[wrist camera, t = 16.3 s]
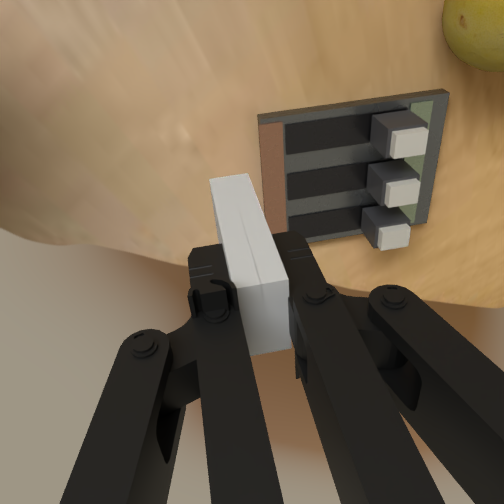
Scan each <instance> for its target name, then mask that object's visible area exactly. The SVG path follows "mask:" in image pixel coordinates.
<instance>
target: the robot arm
mask: <svg viewBox="0 0 504 504" xmlns="http://www.w3.org/2000/svg"><path fill="white" fill-rule="evenodd" d="M209 181H210V188H211V195H212V201H213V208H214V215H215V221H216V228H217V235H218V240H219V244H215V245H209V246H203V247H197V248H193V249H192V251H191V253H190V255H189V257H188V266H189V275H190V285H191V288H190V289H189V291H188V301H189V306H190V310H191V318H190V319H189V320H188V321H187V323H186V324H184V325H183V326H182V327H180V328H179V329H177V330H175V331H173V332H171V333H168V334H165V333H163V332H161V331H160V330H155V329H147V330H141V331H138V332H136V333H134V334H132V335H130V336H129V337H128V338H127V339H126V340H124V342H123V343H122V345H121V346H120V348H119V351H118V354H117V357H116V359H115V361H114V364H113V366H112V369H111V371H110V374H109V377H108V379H107V382H106V384H105V387H104V390H103V392H102V395H101V398H100V400H99V403H98V405H97V408H96V410H95V413H94V416H93V418H92V421H91V423H90V426H89V428H88V431H87V434H86V437H85V439H84V441H83V444H82V447H81V449H80V452H79V454H78V457H77V460H76V462H75V465H74V467H73V470H72V473H71V475H70V478H69V480H68V483H67V486H66V488H65V491H64V493H63V496H62V499H61V501H60V504H167V499H168V494H169V489H170V484H171V479H172V474H173V469H174V464H175V459H176V455H177V450H178V444H179V439H180V435H181V430H182V425H183V420H184V416H185V411H186V405H187V404H188V403H191V402H193V401H194V400H196V399H198V398H201V407H202V416H203V426H204V436H205V446H206V455H207V465H208V475H209V483H210V494H211V504H284V502H283V497H282V493H281V489H280V485H279V480H278V476H277V471H276V467H275V463H274V458H273V454H272V450H271V445H270V441H269V437H268V432H267V428H266V423H265V419H264V415H263V410H262V406H261V401H260V397H259V393H258V388H257V384H256V380H255V376H254V372H253V367H252V362H251V358H250V356H253V355H258V354H263V353H269V352H274V351H279V350H285V349H289V348H291V339H292V342H293V345H294V348H295V368H296V379H298V378H301V381H302V384H303V387H304V390H305V393H306V396H307V399H308V402H309V406H310V409H311V412H312V415H313V418H314V421H315V424H316V427H317V430H318V434H319V437H320V440H321V443H322V446H323V449H324V452H325V455H326V458H327V461H328V464H329V468H330V471H331V474H332V477H333V480H334V483H335V486H336V489H337V492H338V495H339V498H340V502H341V504H445V502H444V500H443V498H442V496H441V494H440V492H439V490H438V488H437V486H436V484H435V482H434V480H433V478H432V476H431V474H430V473H429V471H428V468H427V467H426V464H425V462H424V460H423V458H422V456H421V455H420V453H419V451H418V449H417V447H416V445H415V443H414V441H413V439H412V437H411V435H410V433H409V431H408V429H407V427H406V425H405V423H404V421H403V419H402V417H401V415H400V413H401V414H402V415H403V417H404V418H405V419H406V420H407V422H408V423H409V424H410V425H411V426H412V428H413V429H414V430H415V431H416V433H417V434H418V435H419V436H420V437H421V439H422V440H423V441H424V442H425V443H426V444H427V446H428V447H429V448H430V449H431V451H432V452H433V453H434V454H435V456H436V457H437V458H438V459H439V460H440V462H441V463H442V464H443V465H444V467H445V468H446V469H447V470H448V471H449V473H450V474H451V475H452V476H453V478H454V479H455V480H456V481H457V482H458V484H459V485H460V486H461V487H462V488H463V490H464V491H465V492H466V493H467V494H468V496H469V497H470V498H471V499H472V501H473V502H474V503H475V504H504V372H503V371H502V370H501V369H500V368H499V367H498V366H496V365H495V364H494V363H493V362H492V361H491V360H490V359H489V358H487V357H486V356H485V355H484V354H483V353H482V352H481V351H479V350H478V349H477V348H476V347H475V346H474V345H473V344H471V343H470V342H469V341H468V340H467V339H466V338H465V337H463V336H462V335H461V334H460V333H459V332H458V331H456V330H455V329H454V328H453V327H452V326H450V324H448V323H447V322H446V321H445V320H444V319H443V318H442V317H441V316H439V315H438V314H437V313H436V312H435V311H434V310H433V309H431V308H430V307H429V306H428V305H427V304H426V303H425V302H423V301H422V300H421V299H420V298H419V297H418V296H417V295H415V294H414V293H413V292H412V291H410V290H408V289H407V288H405V287H401V286H398V285H383V286H378V287H377V288H375V289H373V290H372V291H371V293H370V295H369V298H367V297H366V298H365V297H352V296H346V295H343V294H340V293H339V292H338V291H337V290H336V288H335V287H334V286H332V285H330V284H328V283H327V282H326V280H325V278H324V276H323V274H322V272H321V270H320V268H319V266H318V264H317V262H316V260H315V258H314V256H313V254H312V251H311V249H309V245H308V243H307V241H306V239H305V237H303V236H302V235H301V234H299V233H298V232H296V231H295V230H293V231H287V232H281V233H275V234H271V232H270V230H269V227H268V224H267V222H266V219H265V217H264V214H263V211H262V209H261V206H260V204H259V201H258V198H257V196H256V193H255V191H254V188H253V185H252V183H251V180H250V178H249V175H248V173H245V174H239V175H232V176H226V177H219V178H212V179H209ZM399 412H400V413H399Z"/></svg>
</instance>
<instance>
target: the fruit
mask: <svg viewBox="0 0 504 504" xmlns="http://www.w3.org/2000/svg"><path fill="white" fill-rule="evenodd" d="M442 28H443V33H444V36H445V39H446V42H447V43H448V45H449V47H450V49H451V50H452V52H453V53H454V54H455V55H456V56H457V57H458V58H459V59H460V60H461V61H463V62H465V63H466V64H468V65H470V66H472V67H475V68H477V69H480V70H484V71H490V72H504V0H445V1H444V7H443V15H442Z"/></svg>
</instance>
